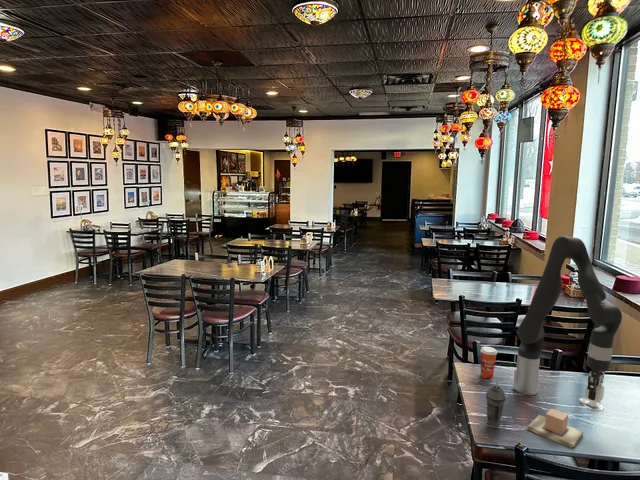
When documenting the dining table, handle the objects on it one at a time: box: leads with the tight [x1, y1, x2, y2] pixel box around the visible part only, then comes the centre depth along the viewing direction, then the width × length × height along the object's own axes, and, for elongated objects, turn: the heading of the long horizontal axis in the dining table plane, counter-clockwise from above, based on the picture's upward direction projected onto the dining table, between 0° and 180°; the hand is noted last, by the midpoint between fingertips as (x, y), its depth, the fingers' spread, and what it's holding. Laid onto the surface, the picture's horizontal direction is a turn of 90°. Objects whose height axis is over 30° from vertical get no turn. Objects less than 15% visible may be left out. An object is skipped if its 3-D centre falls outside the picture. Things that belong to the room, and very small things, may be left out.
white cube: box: [583, 383, 605, 404], centre depth 167 cm, size 5×5×5 cm
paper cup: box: [479, 346, 498, 379], centre depth 213 cm, size 8×8×14 cm
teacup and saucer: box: [578, 397, 605, 412], centre depth 187 cm, size 9×8×4 cm
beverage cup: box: [485, 377, 507, 428], centre depth 170 cm, size 7×7×20 cm
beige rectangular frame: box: [527, 414, 584, 448], centre depth 166 cm, size 16×12×2 cm
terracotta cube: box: [545, 408, 569, 435], centre depth 166 cm, size 6×6×6 cm
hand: (593, 396), depth 167 cm, fingers closed on white cube, 5 cm apart
